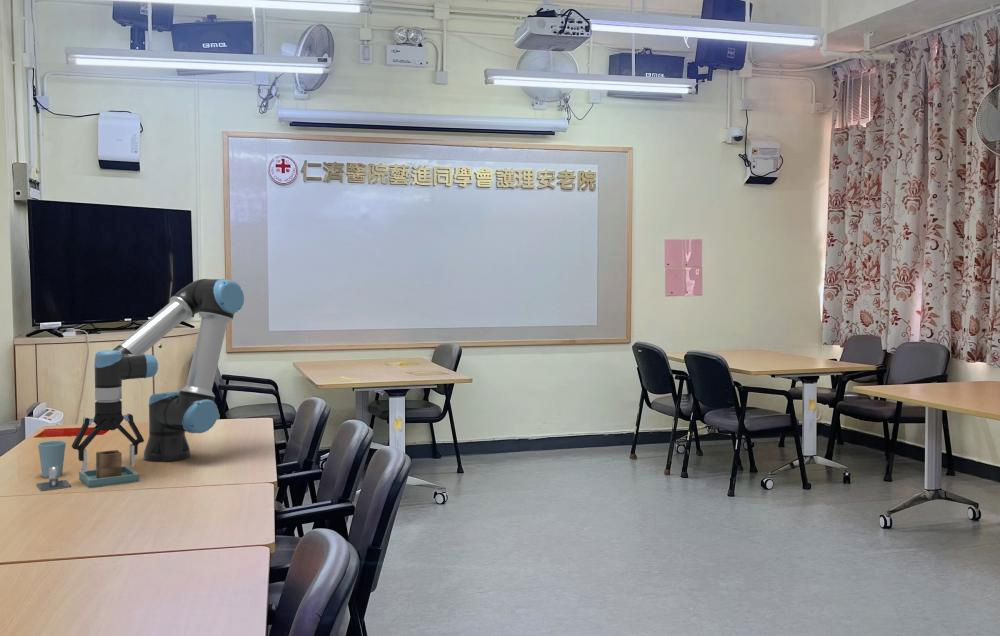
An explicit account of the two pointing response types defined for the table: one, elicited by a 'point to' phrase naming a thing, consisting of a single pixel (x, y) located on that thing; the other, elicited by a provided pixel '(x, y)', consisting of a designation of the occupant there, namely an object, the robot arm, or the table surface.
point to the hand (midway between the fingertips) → (108, 468)
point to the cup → (51, 456)
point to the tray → (108, 478)
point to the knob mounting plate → (53, 481)
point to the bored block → (108, 464)
